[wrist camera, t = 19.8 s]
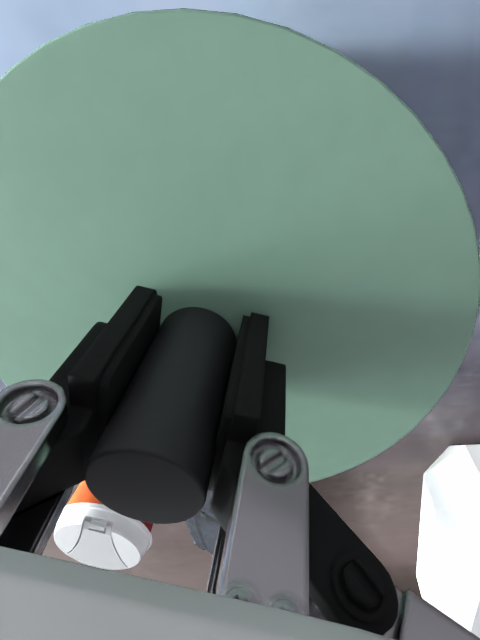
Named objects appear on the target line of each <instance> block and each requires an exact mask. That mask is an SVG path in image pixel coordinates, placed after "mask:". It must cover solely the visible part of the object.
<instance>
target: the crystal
mask: <svg viewBox="0 0 480 640" xmlns="http://www.w3.org/2000/svg"><path fill="white" fill-rule="evenodd" d="M416 576H417V580H418V584H419V588H420V592H421V596H422V598H423V599H424V600H426V601H427V602H428V603H430V604H431V605H433V606H434V607H436V608H437V609H439V610H440V611H441V612H443V613H444V614H446V615H447V616H449V617H450V618H451V619H453V620H454V621H456V622H457V623H459V624H460V625H462V626H463V627H464V628H466V629H467V630H469V631H470V632H472V633H473V634H475V635H476V636H477V637H479V638H480V444H476V445H453V446H449V447H448V448H447V449H446V450H445V451H444V452H443V453H442V454H441V455H440V457H439V458H438V459H437V460H436V461H435V462H434V463H433V464H432V465H431V466H430V467H429V468H428V470H427V471H426V472H425V473H424V475H423V489H422V502H421V516H420V530H419V543H418V557H417V570H416Z"/></svg>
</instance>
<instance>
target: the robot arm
mask: <svg viewBox="0 0 480 640" xmlns="http://www.w3.org/2000/svg"><path fill="white" fill-rule="evenodd" d="M161 309H162V296H160V295H157V291H156V290H155V289H151V288H147V287H143V286H136V287H135V288H134V289H133V291H132V292H131V293H130V295H129V296H128V297H127V298H126V300H125V301H124V302H123V304H122V305H121V306H120V308H119V309H118V310H117V311H116V313H115V314H114V315H113V317H112V318H111V319H110V321H109V322H108V323H105V322H97V323H96V324H95V325H94V326H93V327H92V328H91V329H90V331H89V332H88V333H87V334H86V336H85V337H84V338H83V339H82V340H81V342H80V343H79V344H78V345H77V347H76V348H75V349H74V350H73V351H72V353H71V354H70V355H69V356H68V358H67V359H66V360H65V361H64V362H63V364H62V365H61V366H60V367H59V369H58V370H57V371H56V372H55V373H54V375H53V376H52V377H51V378H50V380H49V381H48V380H42V379H32V380H24V381H21V382H18V383H14V384H12V385H10V386H8V387H6V388H4V389H3V390H2V391H0V640H480V638H479V637H477V636H476V635H475V634H473V633H472V632H470V631H469V630H467V629H466V628H464V627H463V626H462V625H460V624H459V623H457V622H456V621H454V620H453V619H451V618H450V617H449V616H447V615H446V614H444V613H443V612H441V611H440V610H439V609H437V608H436V607H434V606H433V605H431V604H430V603H428V602H427V601H426V600H424V599H423V598H421V597H420V596H418V595H417V594H415V593H414V592H413V591H411V590H410V589H407V590H406V591H405V592H404V591H402V590H401V589H399V588H398V587H397V586H395V585H394V584H393V581H392V579H391V577H390V575H389V573H388V572H387V570H386V569H385V568H384V566H383V565H382V564H381V562H380V561H379V560H378V559H377V558H376V557H375V556H374V554H373V553H372V552H371V551H370V550H369V549H368V548H367V547H366V546H365V544H364V543H363V542H362V541H361V540H360V539H359V538H358V537H357V536H356V534H355V533H354V532H353V531H352V530H351V529H350V528H349V527H348V525H347V524H346V523H345V522H344V521H343V520H342V519H341V518H340V517H339V515H338V514H337V513H336V512H335V511H334V510H333V509H332V508H331V507H330V505H329V504H328V503H327V502H326V501H325V500H324V499H323V498H322V497H321V495H320V494H319V493H318V492H317V491H316V490H315V489H314V488H313V486H312V485H311V484H310V483H309V466H308V460H307V457H306V455H305V453H304V451H303V450H302V449H301V448H300V446H299V445H298V444H297V443H296V442H294V441H293V440H292V439H290V438H289V437H287V436H285V417H286V365H285V364H281V363H277V362H272V361H268V360H266V349H267V338H268V327H269V316H266V315H262V314H258V313H254V312H251V315H250V316H245V315H243V318H242V322H241V326H240V330H239V334H238V338H237V342H236V347H235V352H234V357H233V361H232V366H231V371H230V376H229V381H228V386H227V390H226V395H225V400H224V405H223V410H222V415H221V419H220V424H219V429H218V434H217V439H216V443H215V457H214V462H213V467H212V472H211V477H210V482H209V487H208V491H211V496H210V502H209V504H210V505H211V506H210V510H211V511H212V513H213V514H214V516H215V517H216V519H217V520H218V522H219V523H220V525H219V528H218V533H217V538H216V543H215V548H214V553H213V557H212V562H211V567H210V572H209V577H208V582H207V586H206V591H205V592H203V591H198V590H194V589H190V588H185V587H181V586H177V585H172V584H168V583H163V582H159V581H155V580H150V579H146V578H141V577H137V576H132V575H128V574H123V573H119V572H114V571H110V570H105V569H101V568H96V567H92V566H87V565H83V564H78V563H74V562H69V561H65V560H60V559H56V558H51V557H47V556H42V553H43V551H44V549H45V547H46V545H47V543H48V540H49V538H50V536H51V534H52V532H53V530H54V528H55V526H56V524H57V522H58V520H59V518H60V516H61V513H62V511H63V509H64V507H65V505H66V503H67V501H68V499H69V497H70V495H71V493H72V489H73V486H74V485H76V484H78V483H81V482H83V481H85V478H84V472H85V466H86V464H87V462H88V460H89V458H90V456H91V454H92V452H93V451H94V449H95V447H96V445H97V443H98V441H99V439H100V438H101V436H102V434H103V432H104V430H105V428H106V426H107V425H108V423H109V421H110V419H111V417H112V415H113V413H114V412H115V410H116V408H117V406H118V404H119V402H120V400H121V398H122V397H123V395H124V393H125V391H126V389H127V387H128V385H129V384H130V382H131V380H132V378H133V376H134V374H135V372H136V371H137V369H138V367H139V365H140V363H141V361H142V359H143V358H144V356H145V354H146V352H147V350H148V348H149V346H150V345H151V343H152V341H153V339H154V337H155V335H156V333H157V332H158V330H159V328H160V319H161Z"/></svg>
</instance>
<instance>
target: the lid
mask: <svg viewBox="0 0 480 640" xmlns="http://www.w3.org/2000/svg"><path fill="white" fill-rule="evenodd" d="M136 286H143V287H147V288H151V289H155V290H156V291H157V295H160V296H162V309H161V319H160V328H159V330H158V332H157V333H156V335H155V337H154V339H153V341H152V343H151V345H150V346H149V348H148V350H147V352H146V354H145V356H144V358H143V359H142V361H141V363H140V365H139V367H138V369H137V371H136V372H135V374H134V376H133V378H132V380H131V382H130V384H129V385H128V387H127V389H126V391H125V393H124V395H123V397H122V398H121V400H120V402H119V404H118V406H117V408H116V410H115V412H114V413H113V415H112V417H111V419H110V421H109V423H108V425H107V426H106V428H105V430H104V432H103V434H102V436H101V438H100V439H99V441H98V443H97V445H96V447H95V449H94V451H93V452H92V454H91V456H90V458H89V460H88V462H87V464H86V466H85V472H84V478H85V482H86V485H87V487H88V489H89V490H90V492H91V493H92V494H93V496H94V497H95V498H96V499H97V500H98V501H100V502H101V503H102V504H103V505H105V506H106V507H108V508H109V509H111V510H113V511H115V512H117V513H119V514H121V515H123V516H126V517H128V518H131V519H135V520H138V521H143V522H148V523H157V524H170V523H178V522H182V521H185V520H188V519H190V518H192V517H194V516H195V515H196V514H198V513H199V511H200V510H201V509H202V508H203V506H204V504H205V501H206V497H207V492H208V487H209V482H210V477H211V472H212V467H213V462H214V457H215V443H216V439H217V434H218V429H219V424H220V419H221V415H222V410H223V405H224V400H225V395H226V390H227V386H228V381H229V376H230V371H231V366H232V361H233V357H234V352H235V347H236V342H237V338H238V334H239V330H240V326H241V322H242V318H243V315H245V316H250V315H251V312H254V313H258V314H262V315H266V316H269V327H268V338H267V349H266V360H268V361H272V362H277V363H281V364H285V365H286V417H285V436H287V437H289V438H290V439H292V440H293V441H294V442H296V443H297V444H298V445H299V446H300V448H301V449H302V450H303V451H304V453H305V455H306V457H307V460H308V466H309V482H313V481H317V480H321V479H325V478H327V477H330V476H333V475H336V474H339V473H341V472H344V471H347V470H349V469H351V468H353V467H355V466H357V465H360V464H362V463H364V462H366V461H368V460H370V459H372V458H373V457H375V456H377V455H378V454H380V453H381V452H383V451H385V450H386V449H388V448H390V447H391V446H393V445H394V444H395V443H396V442H398V441H399V440H400V439H401V438H403V437H404V436H405V435H407V434H408V433H409V432H410V431H412V430H413V429H414V428H415V427H416V426H417V425H418V424H419V423H420V422H421V421H422V420H423V419H424V418H425V417H426V416H427V415H428V414H429V413H430V412H431V411H432V409H433V408H434V407H435V405H436V404H437V403H438V401H439V400H440V399H441V397H442V396H443V395H444V393H445V392H446V391H447V389H448V388H449V386H450V384H451V383H452V381H453V379H454V377H455V375H456V373H457V372H458V370H459V368H460V366H461V364H462V363H463V360H464V357H465V355H466V352H467V349H468V346H469V344H470V341H471V338H472V336H473V332H474V327H475V322H476V317H477V312H478V307H479V302H480V257H479V250H478V243H477V235H476V228H475V225H474V222H473V219H472V216H471V213H470V209H469V206H468V203H467V200H466V197H465V194H464V190H463V188H462V186H461V184H460V182H459V180H458V179H457V177H456V175H455V173H454V171H453V169H452V167H451V165H450V163H449V161H448V159H447V157H446V155H445V153H444V151H443V150H442V149H441V147H440V146H439V145H438V143H437V142H436V141H435V139H434V138H433V137H432V135H431V134H430V133H429V131H428V130H427V129H426V127H425V126H424V124H423V123H422V122H421V120H420V119H419V118H418V116H417V115H416V114H415V113H414V112H413V111H412V110H411V109H410V108H409V107H408V106H407V105H406V104H405V103H404V102H403V101H402V100H401V99H400V98H398V97H397V96H396V95H395V94H394V93H393V92H392V91H391V90H390V89H389V88H388V87H387V86H386V85H385V84H384V83H383V82H382V81H381V80H380V79H378V78H377V77H375V76H374V75H372V74H371V73H369V72H368V71H367V70H365V69H364V68H362V67H361V66H359V65H358V64H356V63H355V62H353V61H352V60H350V59H349V58H347V57H346V56H345V55H343V54H342V53H340V52H339V51H337V50H335V49H333V48H331V47H329V46H327V45H325V44H322V43H320V42H318V41H316V40H314V39H312V38H309V37H307V36H305V35H303V34H301V33H299V32H297V31H294V30H292V29H290V28H288V27H284V26H280V25H277V24H273V23H269V22H266V21H262V20H259V19H255V18H251V17H248V16H244V15H240V14H237V13H227V12H217V11H207V10H197V9H187V8H180V9H167V10H153V11H139V12H131V13H127V14H123V15H120V16H116V17H112V18H108V19H104V20H100V21H96V22H93V23H89V24H85V25H83V26H81V27H79V28H77V29H75V30H73V31H70V32H68V33H66V34H64V35H62V36H60V37H58V38H56V39H53V40H51V41H49V42H47V43H45V44H43V45H42V46H41V47H39V48H38V49H37V50H35V51H34V52H32V53H31V54H30V55H28V56H27V57H26V58H24V59H23V60H21V61H20V62H19V63H17V64H16V65H15V66H13V67H12V68H10V69H9V70H8V72H7V73H6V74H5V75H4V76H3V77H2V78H1V79H0V378H1V379H2V380H3V382H4V383H5V384H6V385H7V386H10V385H12V384H14V383H18V382H21V381H24V380H32V379H42V380H48V381H49V380H50V378H51V377H52V376H53V375H54V373H55V372H56V371H57V370H58V369H59V367H60V366H61V365H62V364H63V362H64V361H65V360H66V359H67V358H68V356H69V355H70V354H71V353H72V351H73V350H74V349H75V348H76V347H77V345H78V344H79V343H80V342H81V340H82V339H83V338H84V337H85V336H86V334H87V333H88V332H89V331H90V329H91V328H92V327H93V326H94V325H95V324H96V323H97V322H105V323H108V322H109V321H110V319H111V318H112V317H113V315H114V314H115V313H116V311H117V310H118V309H119V308H120V306H121V305H122V304H123V302H124V301H125V300H126V298H127V297H128V296H129V295H130V293H131V292H132V291H133V289H134V288H135V287H136Z"/></svg>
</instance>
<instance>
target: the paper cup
mask: <svg viewBox="0 0 480 640" xmlns="http://www.w3.org/2000/svg"><path fill="white" fill-rule="evenodd" d="M56 525H57V526H56V529H55V532H54V540H55V543H56V545H57V546H58V547H59V548H60V550H62V551H63V552H64V553H65V554H67V555H68V556H70V557H72V558H74V559H76V560H77V561H79V562H82V563H84V564H87V565H90V566H94V567H98V568H103V569H110V570H118V569H128V568H131V567H133V566H135V565H136V564H138V563H139V561H140V560H141V558H142V556H143V554H144V553H145V552H146V551H147V550H148V549H149V548H150V546H151V544H152V536H151V533H150V532H151V529H152V525H153V523H148V522H143V521H138V520H135V519H131V518H128V517H126V516H123V515H121V514H119V513H117V512H115V511H113V510H111V509H109V508H108V507H106V506H105V505H103V504H102V503H101V502H100V501H98V500H97V499H96V498H95V497H94V496H93V494H92V493H91V492H90V490H89V489H88V487H87V485H86V482H85V481H83V482H81V483H80V485H79V486H78V488H77V490H76V491H75V493H74V495H73V496H72V498H71V500H70V501H69V503H68V504H67V506H65V507H64V509H63V511H62V513H61V516H60V518H59V520H58V522H57V524H56Z"/></svg>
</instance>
